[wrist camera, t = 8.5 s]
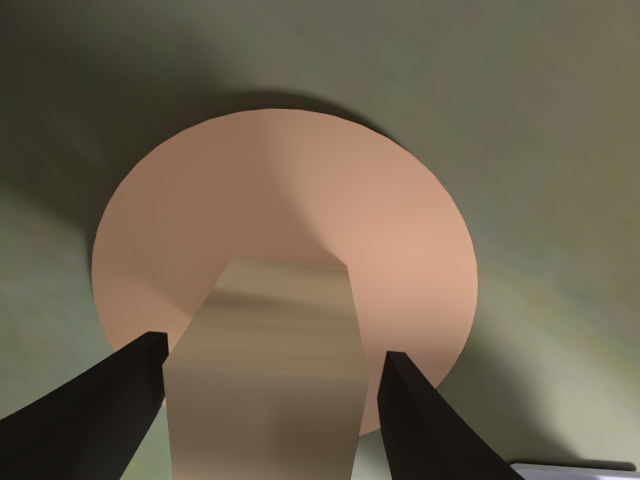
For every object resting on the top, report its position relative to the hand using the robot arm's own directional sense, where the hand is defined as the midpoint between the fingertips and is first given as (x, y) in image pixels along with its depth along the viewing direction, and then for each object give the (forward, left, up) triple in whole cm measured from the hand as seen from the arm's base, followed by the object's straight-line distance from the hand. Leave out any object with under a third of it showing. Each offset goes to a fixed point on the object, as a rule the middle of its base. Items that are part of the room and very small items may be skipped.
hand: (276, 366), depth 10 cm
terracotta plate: (0, 0, -4) cm, 4 cm away
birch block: (0, 0, -3) cm, 3 cm away
